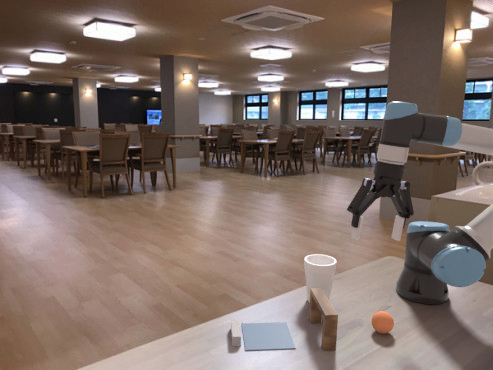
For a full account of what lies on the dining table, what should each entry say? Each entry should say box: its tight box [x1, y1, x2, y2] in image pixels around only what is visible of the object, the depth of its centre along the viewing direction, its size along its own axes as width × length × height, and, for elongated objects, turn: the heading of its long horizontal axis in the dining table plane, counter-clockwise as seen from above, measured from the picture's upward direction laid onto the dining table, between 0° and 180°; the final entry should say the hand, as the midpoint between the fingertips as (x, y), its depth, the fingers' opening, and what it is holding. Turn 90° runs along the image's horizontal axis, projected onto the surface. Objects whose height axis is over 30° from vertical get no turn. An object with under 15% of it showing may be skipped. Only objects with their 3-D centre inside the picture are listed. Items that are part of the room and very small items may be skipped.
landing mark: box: [241, 321, 296, 352], centre depth 102 cm, size 12×12×1 cm
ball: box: [371, 310, 395, 335], centre depth 104 cm, size 6×6×6 cm
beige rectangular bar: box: [230, 319, 242, 347], centre depth 101 cm, size 2×8×2 cm, turn 5°
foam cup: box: [303, 253, 337, 304], centre depth 120 cm, size 10×9×13 cm
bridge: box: [308, 288, 339, 352], centre depth 103 cm, size 3×14×9 cm, turn 5°
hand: (375, 239), depth 109 cm, fingers open, 13 cm apart
